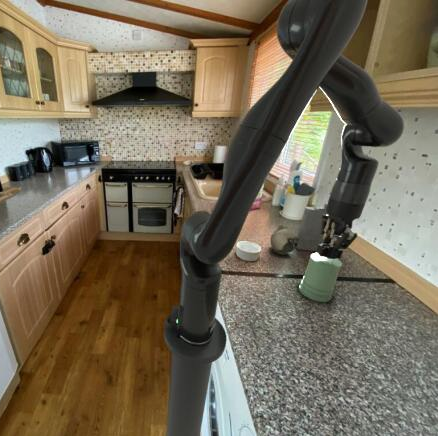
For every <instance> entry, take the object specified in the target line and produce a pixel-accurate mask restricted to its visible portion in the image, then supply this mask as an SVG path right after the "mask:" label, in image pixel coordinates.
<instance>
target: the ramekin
mask: <svg viewBox="0 0 438 436" xmlns="http://www.w3.org/2000/svg"><path fill="white" fill-rule="evenodd" d="M235 246H236V251H235V254H236V257H238V258H239V259H241V260H243V261H247V262H256V261H257V260H258V259H259V256H260V254H261V251H262V248H261V246H260V245H259V244H257V243H256V242H252V241H248V240H243V241H242V240H241V241H238V242H236V243H235Z"/></svg>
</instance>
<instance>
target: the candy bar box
mask: <svg viewBox="0 0 438 436" xmlns="http://www.w3.org/2000/svg"><path fill="white" fill-rule="evenodd" d="M265 183H266V181H265V182H264V184H263V186H262V188H261V190H260V191H259V193H258V195H257V197H256V199H255V201H254V203H253V205H252V207H251V209H250V211H251V210H259V209H260V208H261V205H262V199H263V194H264V190H265V189H264V188H265Z"/></svg>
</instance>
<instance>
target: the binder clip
mask: <svg viewBox="0 0 438 436" xmlns="http://www.w3.org/2000/svg"><path fill="white" fill-rule="evenodd" d="M329 246H330V244H325V243H321V244H319V245H318V248H317V251H315V253H318V254H319V255H320V256H321V257H326V255H327V252H328V249H329ZM343 252H344V249H339V252H338V254H337V257H336V258H337V259H338V260H341V259H342V255H343Z"/></svg>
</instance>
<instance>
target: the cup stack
mask: <svg viewBox="0 0 438 436" xmlns="http://www.w3.org/2000/svg"><path fill="white" fill-rule="evenodd" d="M307 263H308V264H307V266H306V269H305V272H304V275H303V276H302V279H301V281H300V284H299V286H298V290H299V292H300V293H301V295H303V296H305V297H306V298H308V299H309V300H311V301H315V302H318V303H328V302H330V301H331V299H332V296H333V294H334V289H335V285H336V282H337V279H338V278H339V274H340V271H341V269H342V266H343V263H342V261H341V259H338V258H336V259H328V258H327V257H321V256H320V255H319V254H318V253H317V252H314V253H311V254H310V256H309V259H308V262H307Z"/></svg>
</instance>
